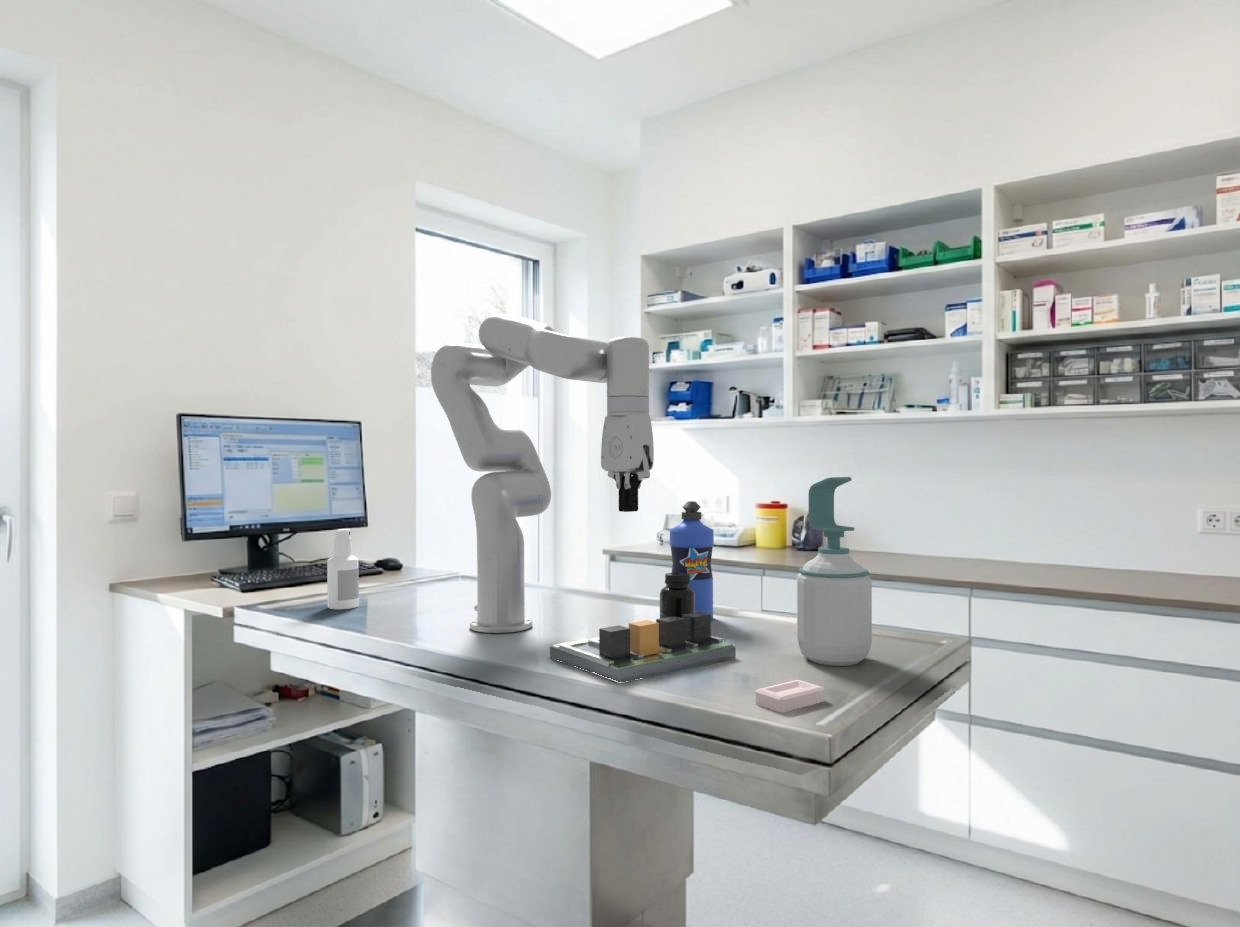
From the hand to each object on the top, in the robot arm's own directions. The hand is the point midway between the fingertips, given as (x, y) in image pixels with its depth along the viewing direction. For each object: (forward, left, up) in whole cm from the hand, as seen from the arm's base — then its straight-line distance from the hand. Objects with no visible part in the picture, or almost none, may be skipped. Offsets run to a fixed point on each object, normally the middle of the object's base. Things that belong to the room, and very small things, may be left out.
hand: (628, 511), depth 143 cm
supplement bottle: (-4, +15, -25) cm, 30 cm away
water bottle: (-14, +28, -25) cm, 40 cm away
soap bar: (+37, 0, -26) cm, 45 cm away
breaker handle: (+9, -4, -23) cm, 25 cm away
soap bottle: (+26, +24, -25) cm, 43 cm away
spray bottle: (-74, -26, -25) cm, 82 cm away
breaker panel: (+5, -1, -25) cm, 26 cm away
